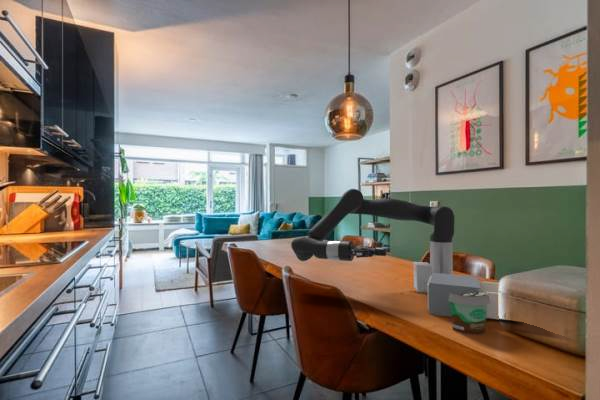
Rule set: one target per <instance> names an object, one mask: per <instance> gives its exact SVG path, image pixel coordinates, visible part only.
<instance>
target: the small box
mask: <svg viewBox="0 0 600 400" xmlns="http://www.w3.org/2000/svg"><path fill="white" fill-rule="evenodd" d="M430 276H432V266H431V265H430V262H427V261H425V262H424V261H413V287H414V289H415V291H416V292H417V293H427V284H428V282H429V279H430Z"/></svg>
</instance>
